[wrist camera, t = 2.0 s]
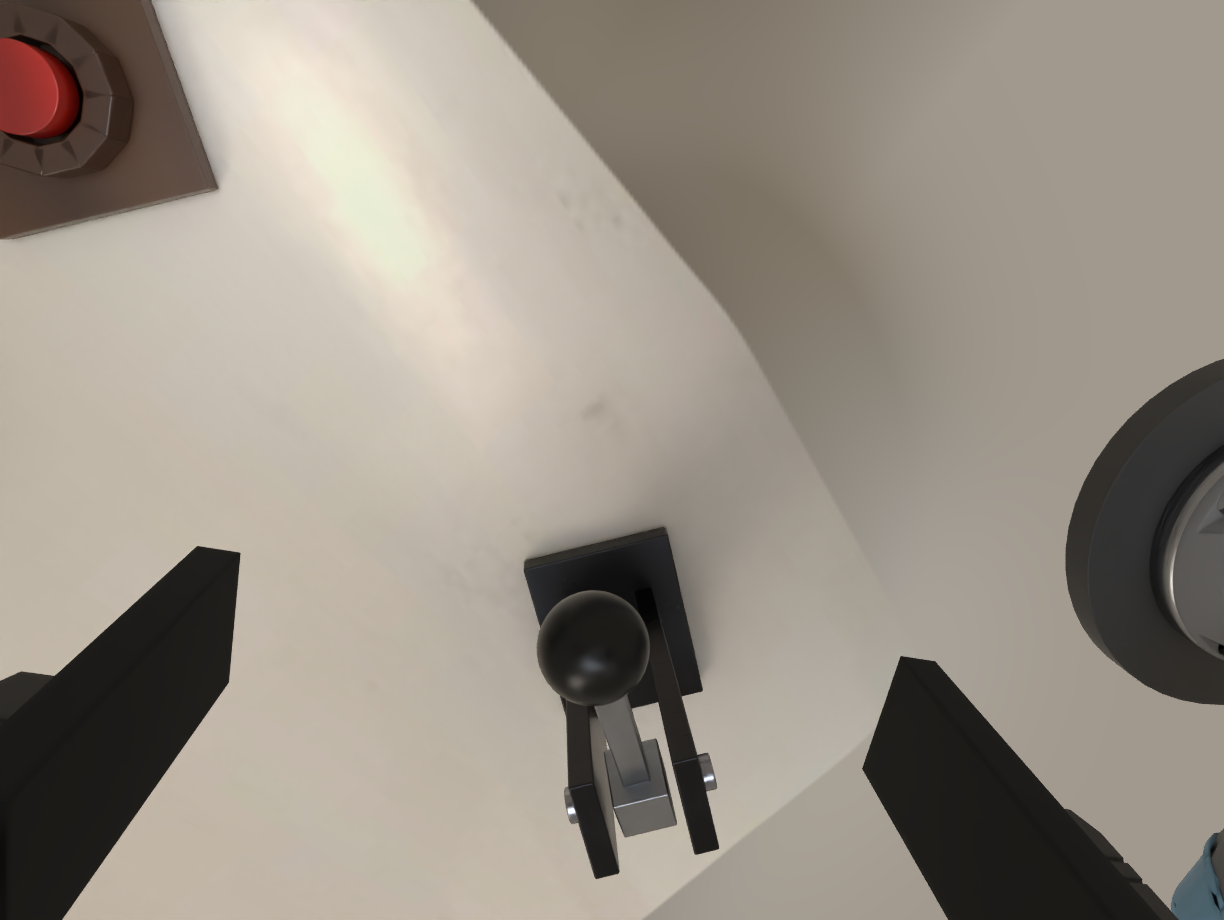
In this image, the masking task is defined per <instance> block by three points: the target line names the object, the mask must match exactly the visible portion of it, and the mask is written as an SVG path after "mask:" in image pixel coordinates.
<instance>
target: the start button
mask: <svg viewBox="0 0 1224 920" xmlns="http://www.w3.org/2000/svg"><path fill="white" fill-rule="evenodd" d="M79 102H80V100H79V92H78V88H77V85H76V82H75V80H74V78H73V76H72V74H71V73H70V71H69V70H68V68H67V67H66V66H65V65H64V64H63V63H62V61H60V60H59V59H58V58H57V57H56V56H54V55H53V54H51V53H50V52H48V51H46V50H44V49H41V48H38V47H35V46H32V45H30V44H27V43H24V42H21V41H18V40H14V39H10V38H0V130H2V131H4V132H7V133H11V134H15V135H21V136H27V137H33V138H52V137H55V136H58V135H60V134H62V133H64V132H65V131H66V130H68V129H69V128H70V127H71V125H72V124H73V123H74V121H75V119H76V117H77V114H78V111H79Z"/></svg>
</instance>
